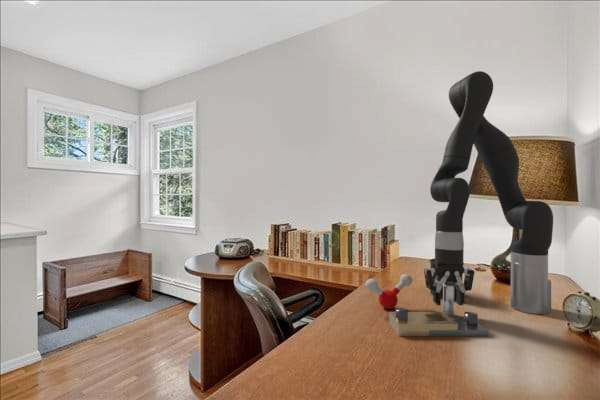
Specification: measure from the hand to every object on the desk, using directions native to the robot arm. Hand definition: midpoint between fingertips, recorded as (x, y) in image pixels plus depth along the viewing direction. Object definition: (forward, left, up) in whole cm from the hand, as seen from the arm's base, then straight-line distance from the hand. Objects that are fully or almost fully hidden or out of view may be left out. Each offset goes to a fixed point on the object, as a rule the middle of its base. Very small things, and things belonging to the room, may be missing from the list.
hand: (448, 304), depth 90 cm
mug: (-9, -19, -3) cm, 21 cm away
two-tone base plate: (+8, +10, -3) cm, 13 cm away
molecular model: (+16, -5, -3) cm, 17 cm away
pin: (0, 0, -3) cm, 3 cm away
